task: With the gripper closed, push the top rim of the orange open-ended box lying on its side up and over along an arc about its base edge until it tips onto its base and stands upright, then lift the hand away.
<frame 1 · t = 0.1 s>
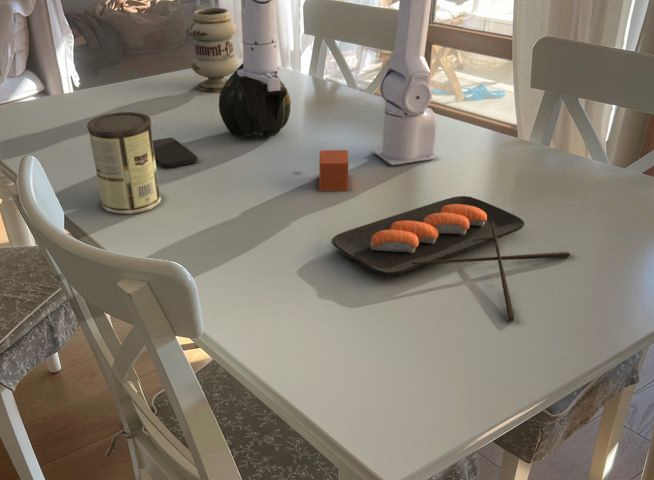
hand: (262, 123, 126), 10 cm above the table, tool pointing down, fingers open, 7 cm apart
apothecary jar: (216, 87, 183), on the table
sushi plate: (464, 262, 103), on the table
coffee can: (131, 203, 124), on the table
squash: (254, 133, 152), on the table
phone: (168, 155, 143), on the table
orange open-ended box: (333, 176, 131), on the table
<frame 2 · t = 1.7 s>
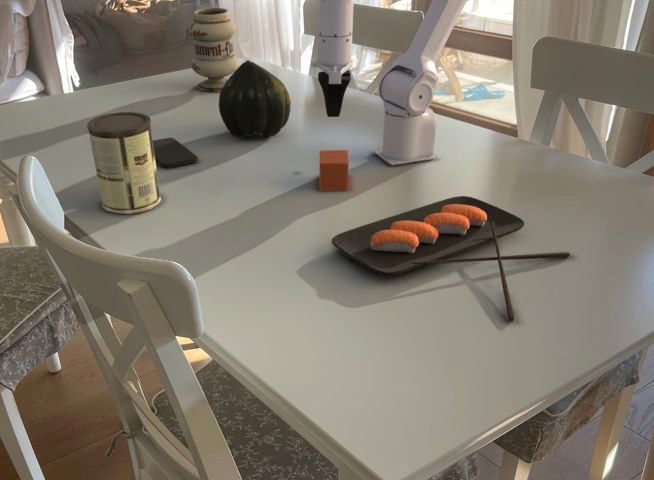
hand: (333, 115, 127), 10 cm above the table, tool pointing down, fingers closed
nothing on the table moved.
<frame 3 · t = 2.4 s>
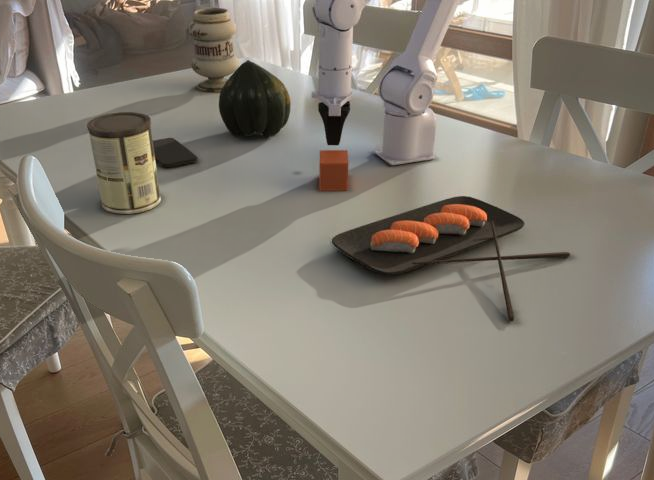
hand: (333, 144, 130), 5 cm above the table, tool pointing down, fingers closed
nothing on the table moved.
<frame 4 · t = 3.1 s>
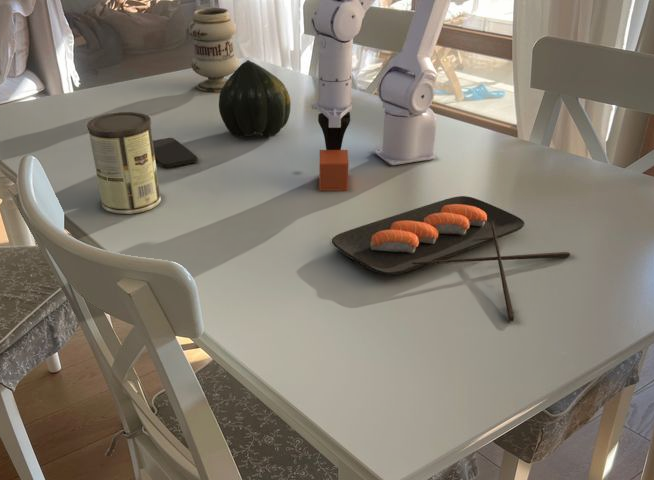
hand: (333, 154, 129), 4 cm above the table, tool pointing down, fingers closed
orange open-ended box: (333, 176, 131), on the table, touching gripper
everything else where it was.
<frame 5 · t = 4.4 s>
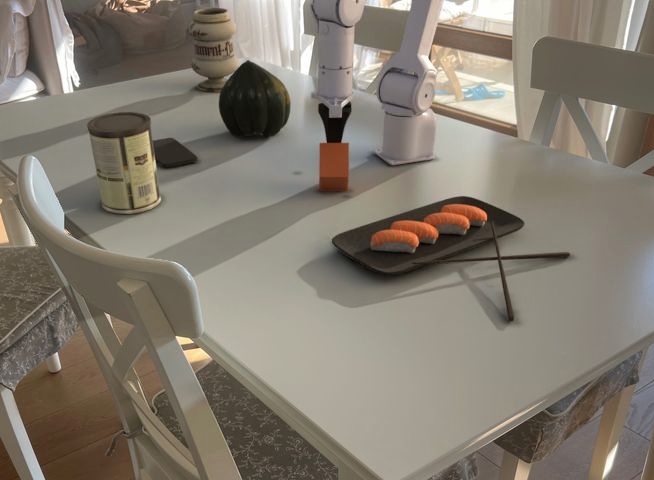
hand: (333, 146, 124), 7 cm above the table, tool pointing down, fingers closed
orange open-ended box: (333, 157, 127), point 4 cm above the table, tilted 40°, touching gripper
everything else where it was.
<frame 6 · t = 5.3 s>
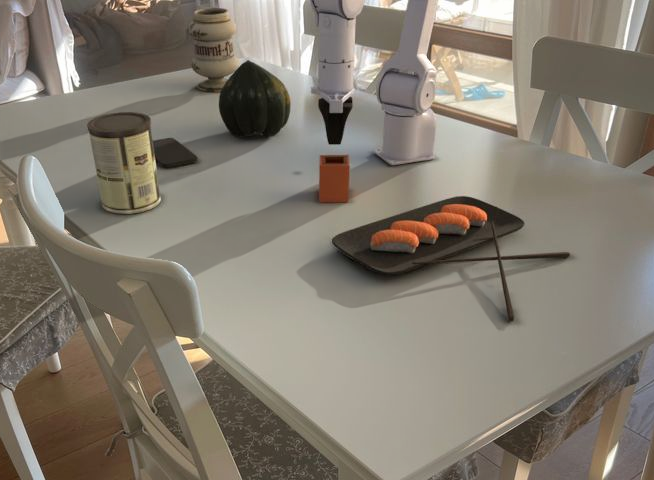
hand: (334, 143, 121), 8 cm above the table, tool pointing down, fingers closed
orange open-ended box: (334, 154, 122), point 7 cm above the table, tilted 90°
everything else where it was.
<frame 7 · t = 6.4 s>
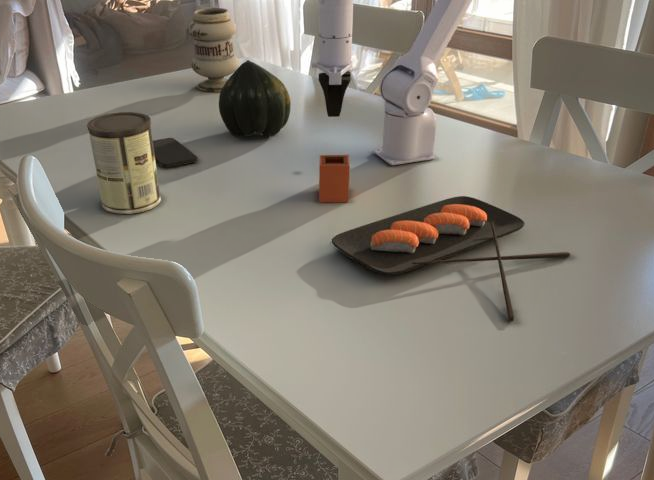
hand: (333, 115, 129), 10 cm above the table, tool pointing down, fingers closed
nothing on the table moved.
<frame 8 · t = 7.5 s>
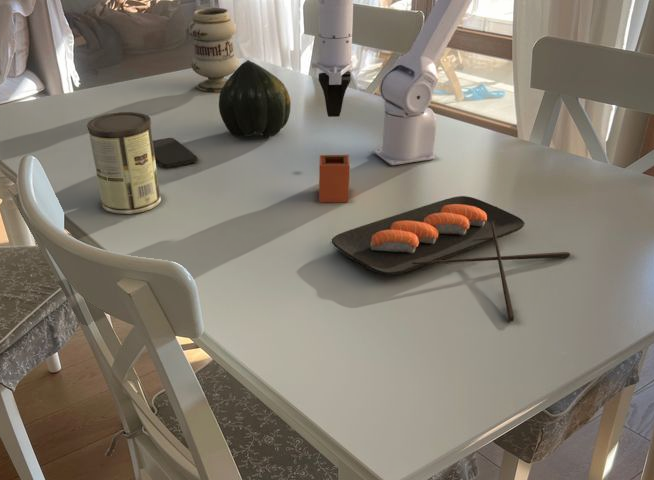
hand: (333, 115, 129), 10 cm above the table, tool pointing down, fingers closed
nothing on the table moved.
at the end: orange open-ended box tilted 90°; orange open-ended box inside the target area (0.4 cm from its centre), point 6.5 cm above the table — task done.
